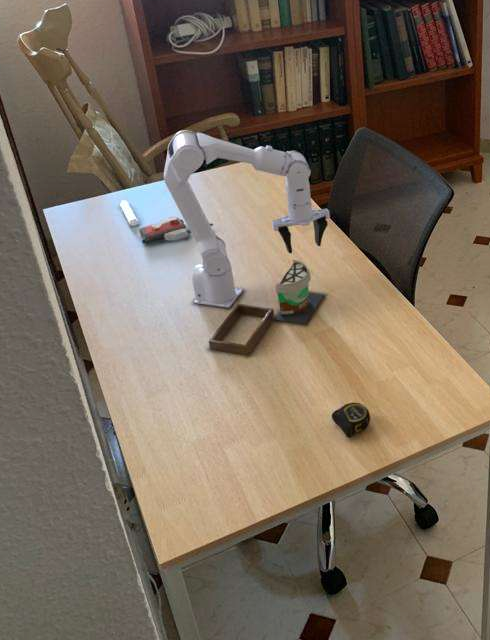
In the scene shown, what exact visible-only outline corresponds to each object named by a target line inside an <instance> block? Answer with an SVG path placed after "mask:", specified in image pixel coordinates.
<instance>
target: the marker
mask: <svg viewBox="0 0 490 640" xmlns="http://www.w3.org/2000/svg"><path fill="white" fill-rule="evenodd" d="M119 206H120V208H121V210H122V212H123V214H124V216H125V218H126V220H127V222H128V223H129V225H131V226H132V227H134V226H138V224H139V220H138V218H137V216H136V215H135V213H134V211H133V209H132V207H131V205H130V204H129V202H128V201H127V200H122V201H121V202H120V203H119Z"/></svg>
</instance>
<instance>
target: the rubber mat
mask: <svg viewBox="0 0 490 640" xmlns="http://www.w3.org/2000/svg"><path fill="white" fill-rule="evenodd" d="M308 296H309V305H308V308H307V309H306V310H305V311H304V312H302V313H300V314H298V315H294V316H282V315H281V310H280V311H279V312H278V314H277V316H276V317H274V321H275V322H281V323H282V322H283V323H289V324H296V325H303V326H306V325H307V324H308V322H309V321H310V318H311V317H312V316H313V314H314V313H315V311H316V310H317V308H318V306H319V304H320V303H321V301H322V300H323V298H324V296H325V294H323V293H317V292H309V291H308Z"/></svg>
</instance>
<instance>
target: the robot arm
mask: <svg viewBox="0 0 490 640" xmlns="http://www.w3.org/2000/svg"><path fill="white" fill-rule="evenodd" d="M165 158H166V159H165V165H164V169H163V180H164V183H165V186H166V187H167V190H168V191H169V193H170V195H171V198H172V199H173V201H174V203H175V205H176V206H177V209H178V211H179V212H180V215H181V217H182V219H183V221H184V223H185V224H186V227H187V229H189V230H190V231H191V233H190V234H191V235H192V237H193V239H194V241H195V243H196V246H197V249H198V251H199V254H200V256H201V261H202V263H200V264H197V265H196V266H195V267H194V269H193V270H192V275H191V281H192V286H193V292H194V297H195V300H194V303H195V304H198V305H199V304H200V305H206V306H212V307H221V308H227V309H229V308H230V307H231V306H232V305H233V304H234V302H235V301H236V300H237V298H238V297H239V296H240V295H241V293H242V292H243V289H242V288H236V287H235V280H234V274H233V268H232V263H231V261H230V259H229V257H228V253H227V249H226V248H227V246H226V243H225V241H224V240H223V239H222V238H221V237H219V236H218V235H217V234H216V232H215V230H214V229H213V227H212V226H210V222H209V220H208V218H207V216H206V214H205V212H204V210H203V208H202V206H201V204H200V202H199V200H198V198H197V196H196V194H195V192H194V190H193V188H192V186H191V184H190V182H189V179H190V177H191V175H192V174H194V173H195V172H196V171H198V170H199V168H201V166H202V165H203V163H204V162H205V164H206V165H209V164H211V163H212V162H214V161H215V160H217V159H223V160H227V161H233V162H239V163H245V164H251V166H252V168H253V169H254V170H255V171H258V172H263V173H267V174H272V175H276V176H280V177H285V192H286V198H287V199H286V201H287V210H288V214H287V215H284V216H282V217H279V218H277V219H275V220H272V221H271V228H272V230H273V231H274V232H277V231H278V233H279V235H280V237H281V238H282V240H283V243H284V244H285V248H286V251H287V252H288V254H292V253H293V248H292V233H291V232H290V229H289V227H293V226H302V227H306V226H309V225H311V223H312V224H313V229H314V242H315V244H316V246H317V247H321V246H322V240H323V236H324V233H325V232H326V231H325V230H326V229H327V227H328V223H329V222H328V221H327V220H328V219H331V214H330V213H331V212H330V210H329V209H328V208H321V209H313V207H312V196H311V188H310V187H311V185H310V181H309V178H310V176H311V172H312V171H311V168H310V166H309V163H308V161H307V160H306V158H305V156H304V155H303V154H302V153H301V152H298V151H296V150H290V151H288V150H287V151H282V150H278V149H274V148H273V146H271V145H269V144H268V145H267V144H266V146H262V145H261V146H258V147H256V148H254V149H252V148H249V147H246V146H242V145H239V144H237V143H232V142H229V141H226V140H222V139H220V138H217V137H213V136H210V135H208V134H206V133H203V132H196V133H195V132H194V131H191V130H187V129H185V130H180V131H178V132H176V133H175V134H174V135H173V136H172V138H171V140H170V141H169V143H168V144H167V154H166V157H165Z"/></svg>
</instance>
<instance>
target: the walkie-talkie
mask: <svg viewBox="0 0 490 640" xmlns="http://www.w3.org/2000/svg"><path fill="white" fill-rule="evenodd" d="M209 224H210V226H211V227H213V226H214V224H213V223H212V222H209ZM138 230H139V235H140V238H141V239H142V240H141V243H142V244H143V245H154V244H157V243H161V242H164V241H177V240H180V239H183V238H188V237H189V235H190V234H192V233H191V231H190V230H189V228H187V224H186V223H185V221H184V219H183V218H182V219H180V218H179V217H176V216H171V217H168V218H163V219H161V220H160V221H158V222H157V223H156V222H155V223H151V224H150V225H149V224H148V225H146V226H142V227H140V228H139V229H138Z"/></svg>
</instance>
